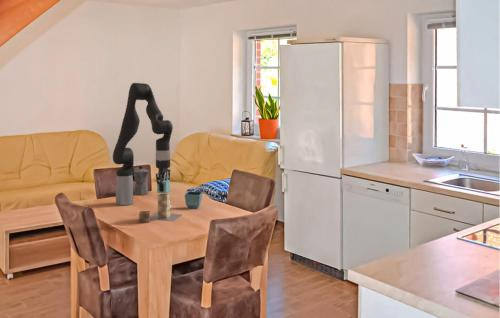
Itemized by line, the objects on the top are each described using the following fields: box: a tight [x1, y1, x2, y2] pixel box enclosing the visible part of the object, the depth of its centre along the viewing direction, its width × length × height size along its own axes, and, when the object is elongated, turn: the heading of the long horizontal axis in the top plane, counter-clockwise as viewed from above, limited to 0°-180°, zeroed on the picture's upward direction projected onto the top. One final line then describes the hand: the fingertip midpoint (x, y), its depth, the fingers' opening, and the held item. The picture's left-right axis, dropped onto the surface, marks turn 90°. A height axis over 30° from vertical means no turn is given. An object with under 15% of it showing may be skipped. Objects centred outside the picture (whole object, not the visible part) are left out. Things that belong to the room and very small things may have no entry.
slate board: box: [150, 212, 183, 222], centre depth 291 cm, size 16×14×1 cm
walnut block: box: [138, 210, 151, 224], centre depth 282 cm, size 5×5×6 cm
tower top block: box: [157, 193, 171, 208], centre depth 290 cm, size 5×5×6 cm
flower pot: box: [184, 191, 203, 210], centre depth 314 cm, size 9×9×9 cm
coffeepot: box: [133, 165, 150, 196], centre depth 352 cm, size 15×9×18 cm, turn 54°
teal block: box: [156, 180, 171, 194], centre depth 289 cm, size 5×5×6 cm
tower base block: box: [157, 204, 171, 218], centre depth 291 cm, size 5×5×6 cm
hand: (163, 190), depth 289 cm, fingers closed on teal block, 5 cm apart
